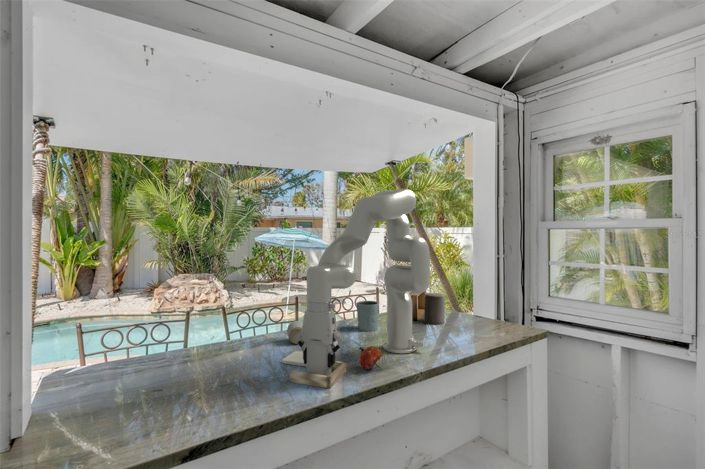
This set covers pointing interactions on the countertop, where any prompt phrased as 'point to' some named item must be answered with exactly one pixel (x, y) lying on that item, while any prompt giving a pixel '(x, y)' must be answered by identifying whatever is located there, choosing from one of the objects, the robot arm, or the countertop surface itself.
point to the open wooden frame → (320, 376)
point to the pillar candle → (434, 308)
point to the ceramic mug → (294, 330)
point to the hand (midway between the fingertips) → (319, 363)
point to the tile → (294, 359)
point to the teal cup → (367, 315)
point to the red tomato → (369, 357)
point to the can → (317, 358)
